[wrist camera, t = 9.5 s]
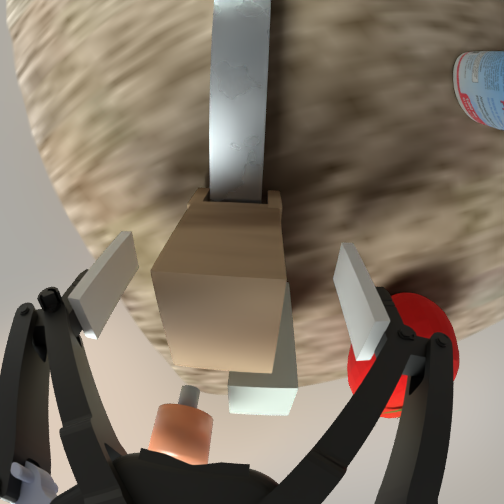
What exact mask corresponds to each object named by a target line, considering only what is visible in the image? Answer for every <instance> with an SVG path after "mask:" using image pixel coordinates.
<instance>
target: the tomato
mask: <svg viewBox="0 0 504 504" xmlns="http://www.w3.org/2000/svg"><path fill="white" fill-rule="evenodd" d="M391 298H392V301H393V302H394V304H395V307H396V308H397V310H398V312H399V314H400V316H401V318H402V321H403V323H404V325H407V326H409V327H411V328H412V329H413V330H414V331H415V332H416V335H417V336H420V337H425V338H429V339H430V337H431V336H432V334H433V333H436V332H442V333H444V334H446V335H447V336H448V337H449V338H450V339H451V341H452V345H453V372H454V379H455V377H456V375H457V371H458V369H459V350H458V345H457V341H456V336H455V333H454V330H453V327H452V325H451V323H450V321H449V319H448V317H447V316H446V314H445V312H444V311H443V310H442V309H441V308H440V307H439V306H438V305H437V304H435V303H434V302H433V301H431V300H429V299H428V298H426V297H424V296H422V295H419V294H415V293H405V292H403V293H398V294H395V295H392V296H391ZM375 360H376V356H375V353H374V354H373V356H372V357H371V359H370V360H362V361H356V358H355V354H354V350H353V347H352V343H351V347H350V351H349V355H348V365H347V371H348V382H349V386H350V388H351V390H352V393H353V395H354V393H355V392H356V390H357V389H358V387H359V386H360V384H361V383H362V381H363V379H364V378H365V376H366V375H367V373H368V372H369V370H370V368H371V367H372V365H373V363H374V362H375ZM407 377H408V376H407V375H401V377H400V379H399V382H398V384H397V386H396V388H395V390H394V392H393V394H392V395H391V397H390V399H389V401H388V403H387V405H386V407H385V409H384V410H383V412H382V414H381V416H380V417H385V418H396V417H398V418H399V417H401V412H402V407H403V402H404V396H405V390H406V384H407Z"/></svg>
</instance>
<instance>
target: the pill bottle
mask: <svg viewBox="0 0 504 504" xmlns="http://www.w3.org/2000/svg"><path fill="white" fill-rule="evenodd" d="M453 84H454V90H455V94H456V97H457V100H458V102H459V104H460V106H461V107H462V109H463V110H464V112H465V113H466V114H467V115H468V116H469V117H470V118H471V119H472V120H474V121H476V122H478V123H481V124H484V125H487V126H490V127H494V128H497V129H500V130H503V131H504V51H472V52H465V53H463V54H461V55H460V56H459V57H458V58H457V60H456V62H455V64H454V69H453Z"/></svg>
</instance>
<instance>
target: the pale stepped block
mask: <svg viewBox="0 0 504 504" xmlns="http://www.w3.org/2000/svg"><path fill="white" fill-rule="evenodd" d="M297 390H298V379H297V365H296V353H295V341H294V329H293V318H292V308H291V298H290V288H289V282H286V288H285V295H284V301H283V308H282V315H281V321H280V328H279V334H278V340H277V346H276V352H275V358H274V364H273V370H272V373H252V372H236V371H229V379H228V397H229V411H230V413H236V414H253V415H289V412H290V409H291V407H292V404H293V401H294V398H295V396H296V393H297Z"/></svg>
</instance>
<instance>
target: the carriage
mask: <svg viewBox="0 0 504 504" xmlns="http://www.w3.org/2000/svg"><path fill="white" fill-rule="evenodd" d="M282 209H283V208H282V202H281V195H280V191H271V190H268V193H267V204H255V203H233V202H210V188H198V189H197V191H196V192H195V194H194V195H193V196H192V198H191V199H190V201H189V202H188V204H187V211H186V212H185V214H184V215H183V217H182V219H181V220H180V222H179V223H178V225H177V227H176V228H175V230H174V231H173V233H172V235H171V236H170V238H169V240H168V241H167V243H166V245H165V246H164V248H163V250H162V251H161V253H160V255H159V257H158V258H157V260H156V262H155V263H154V265H153V267H152V269H151V270H150V271H151V276H152V281H153V286H154V290H155V295H156V299H157V303H158V307H159V312H160V316H161V320H162V323H163V327H164V331H165V335H166V338H167V342H168V346H169V349H170V353H171V356H172V359H173V363H174V365H179V366H187V367H195V368H203V369H213V370H223V371H236V372H252V373H272V370H273V364H274V358H275V352H276V346H277V340H278V334H279V328H280V321H281V315H282V308H283V301H284V295H285V288H286V281H287V278H286V268H285V258H284V248H283V239H282V230H281V219H282Z"/></svg>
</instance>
